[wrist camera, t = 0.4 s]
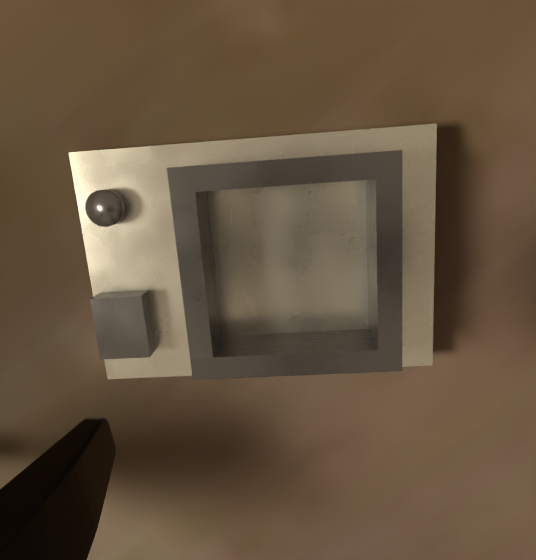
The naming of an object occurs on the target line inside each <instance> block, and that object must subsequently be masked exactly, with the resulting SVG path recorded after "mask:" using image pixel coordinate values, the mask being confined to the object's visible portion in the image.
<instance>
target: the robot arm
mask: <svg viewBox="0 0 536 560" xmlns="http://www.w3.org/2000/svg"><path fill="white" fill-rule="evenodd" d="M115 452H116V448H115V443H114V439H113V436H112V433H111V429H110V426H109V423H108V421H107V419H105V418H86V419H84V420H83V421H82V422H81V423H79V424H78V425H77V426H76V427H75V428H73V429H72V430H71V431H70V432H69V433H67V434H66V435H65V436H64V437H63V438H61V439H60V440H59V441H58V442H57V443H55V444H54V445H53V446H52V447H51V448H49V449H48V450H47V451H46V452H45V453H43V454H42V455H41V456H40V457H39V458H37V459H36V460H35V461H34V462H33V463H31V464H30V465H29V466H28V467H27V468H25V469H24V470H23V471H22V472H21V473H19V474H18V475H17V476H16V477H15V478H13V479H12V480H11V481H10V482H9V483H7V484H6V485H5V486H4V487H3V488H1V489H0V560H87V557H88V554H89V551H90V548H91V546H92V543H93V540H94V537H95V534H96V531H97V528H98V524H99V520H100V516H101V512H102V508H103V504H104V500H105V496H106V491H107V487H108V483H109V479H110V475H111V471H112V467H113V462H114V458H115Z"/></svg>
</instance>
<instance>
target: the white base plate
mask: <svg viewBox="0 0 536 560" xmlns="http://www.w3.org/2000/svg"><path fill="white" fill-rule="evenodd" d="M436 147H437V124H425V125H412V126H400V127H387V128H374V129H362V130H349V131H336V132H323V133H311V134H298V135H285V136H273V137H260V138H247V139H235V140H222V141H209V142H197V143H184V144H171V145H159V146H146V147H133V148H121V149H108V150H95V151H83V152H70V153H69V158H70V163H71V169H72V175H73V181H74V187H75V192H76V198H77V204H78V210H79V216H80V221H81V227H82V233H83V239H84V245H85V250H86V256H87V262H88V268H89V274H90V279H91V285H92V291H93V297H92V298H90V302H91V308H92V314H93V320H94V325H95V331H96V337H97V342H98V348H99V354H100V360H103V359H104V360H105V366H106V372H107V378H108V379H124V378H147V377H170V376H192V378H193V380H199V379H223V378H246V377H270V376H294V375H318V374H342V373H365V372H389V371H402V367H405V366H428V365H433V314H434V259H435V203H436Z"/></svg>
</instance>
